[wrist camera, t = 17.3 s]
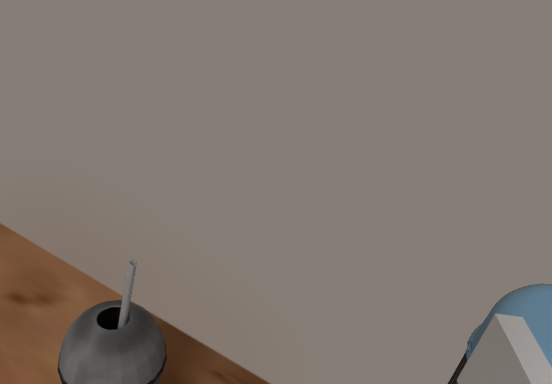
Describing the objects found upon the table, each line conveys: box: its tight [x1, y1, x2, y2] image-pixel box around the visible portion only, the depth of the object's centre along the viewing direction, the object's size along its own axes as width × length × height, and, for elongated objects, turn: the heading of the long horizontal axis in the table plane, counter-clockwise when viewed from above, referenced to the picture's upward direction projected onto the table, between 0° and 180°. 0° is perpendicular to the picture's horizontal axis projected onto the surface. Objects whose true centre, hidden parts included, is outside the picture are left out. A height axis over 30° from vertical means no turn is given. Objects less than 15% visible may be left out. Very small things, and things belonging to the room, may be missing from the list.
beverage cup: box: [58, 260, 167, 384], centre depth 35 cm, size 7×7×20 cm
